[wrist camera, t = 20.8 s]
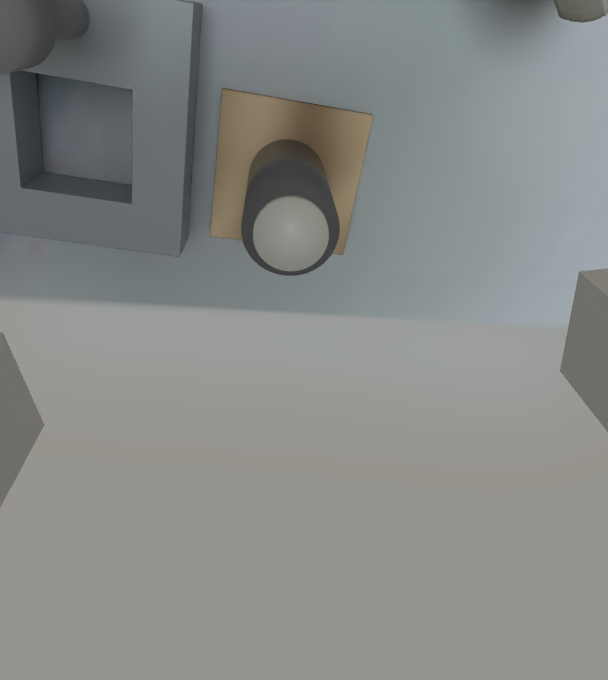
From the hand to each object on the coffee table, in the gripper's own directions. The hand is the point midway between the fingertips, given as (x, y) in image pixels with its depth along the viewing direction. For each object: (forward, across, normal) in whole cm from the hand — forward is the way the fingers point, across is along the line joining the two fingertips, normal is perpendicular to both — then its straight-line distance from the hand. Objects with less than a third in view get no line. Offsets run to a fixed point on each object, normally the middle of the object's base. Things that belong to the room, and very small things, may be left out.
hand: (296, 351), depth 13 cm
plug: (+24, 0, -2) cm, 24 cm away
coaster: (+24, 0, -2) cm, 24 cm away
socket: (+24, -11, +2) cm, 27 cm away
